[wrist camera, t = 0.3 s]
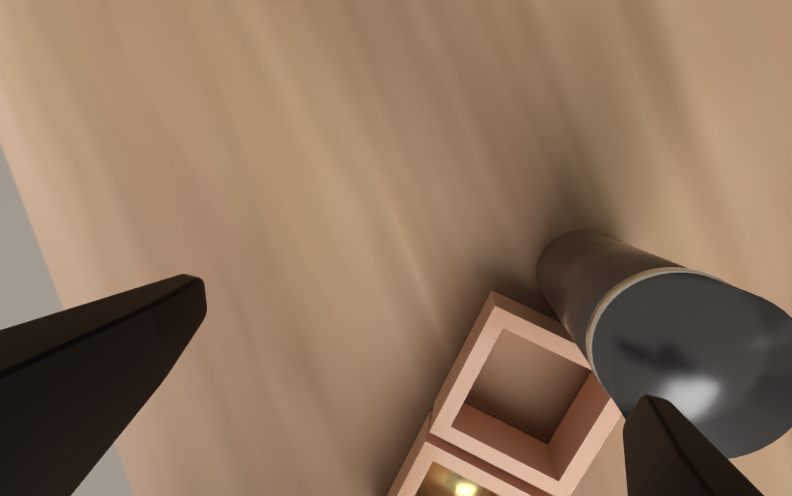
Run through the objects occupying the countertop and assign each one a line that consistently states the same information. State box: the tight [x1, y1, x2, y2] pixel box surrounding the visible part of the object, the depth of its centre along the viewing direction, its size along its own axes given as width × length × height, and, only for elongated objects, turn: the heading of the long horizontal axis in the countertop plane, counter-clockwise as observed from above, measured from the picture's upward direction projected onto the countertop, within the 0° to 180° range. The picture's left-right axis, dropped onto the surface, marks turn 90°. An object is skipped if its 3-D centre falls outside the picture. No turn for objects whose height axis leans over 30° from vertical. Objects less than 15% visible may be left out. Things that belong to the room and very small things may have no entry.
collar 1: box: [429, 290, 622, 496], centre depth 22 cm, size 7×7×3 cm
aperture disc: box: [417, 461, 500, 496], centre depth 25 cm, size 5×5×1 cm
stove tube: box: [537, 231, 792, 459], centre depth 16 cm, size 4×4×12 cm
